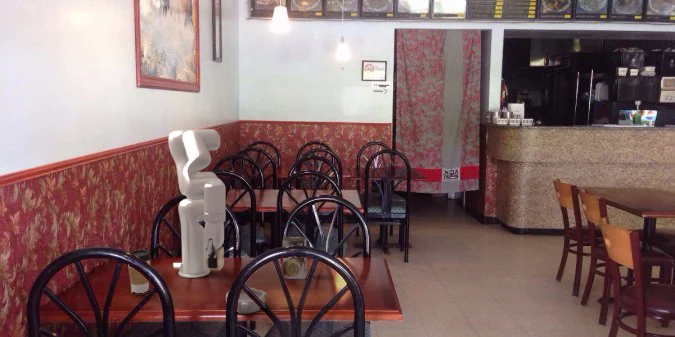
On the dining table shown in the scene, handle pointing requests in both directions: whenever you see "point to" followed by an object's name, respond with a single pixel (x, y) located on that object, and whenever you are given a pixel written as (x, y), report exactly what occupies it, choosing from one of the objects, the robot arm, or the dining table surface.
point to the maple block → (219, 259)
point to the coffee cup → (136, 278)
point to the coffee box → (295, 260)
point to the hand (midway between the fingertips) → (215, 264)
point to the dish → (249, 301)
